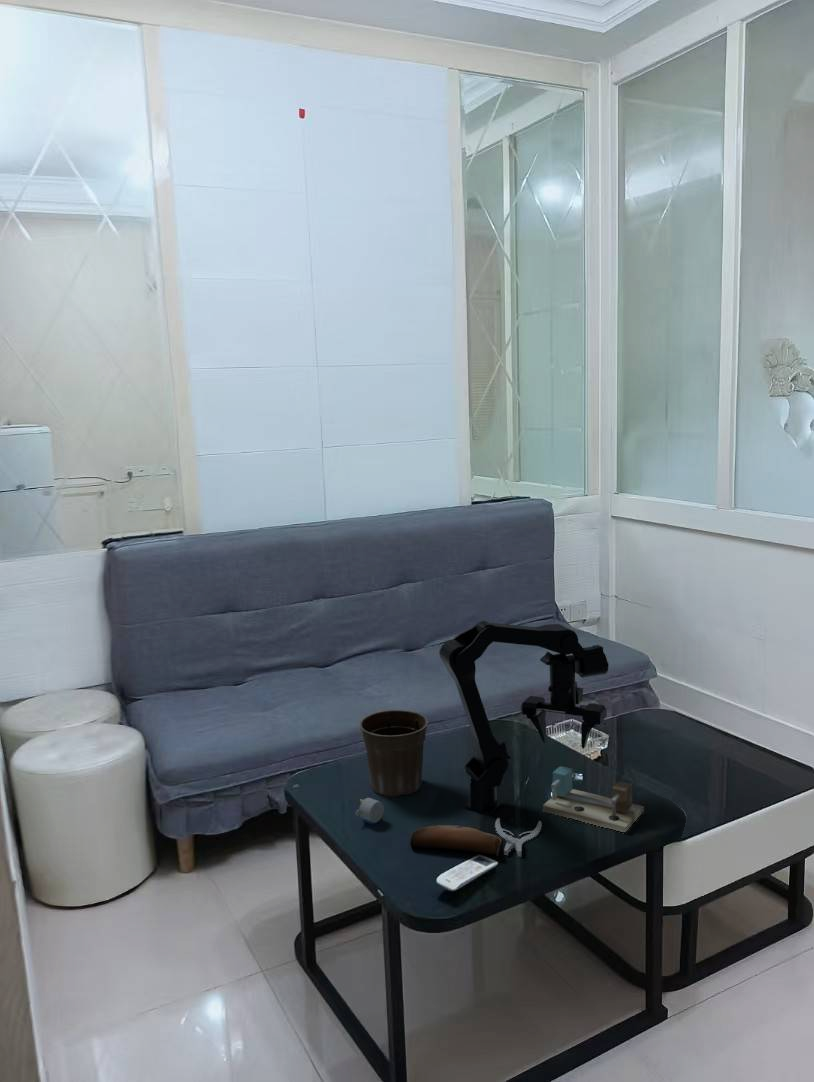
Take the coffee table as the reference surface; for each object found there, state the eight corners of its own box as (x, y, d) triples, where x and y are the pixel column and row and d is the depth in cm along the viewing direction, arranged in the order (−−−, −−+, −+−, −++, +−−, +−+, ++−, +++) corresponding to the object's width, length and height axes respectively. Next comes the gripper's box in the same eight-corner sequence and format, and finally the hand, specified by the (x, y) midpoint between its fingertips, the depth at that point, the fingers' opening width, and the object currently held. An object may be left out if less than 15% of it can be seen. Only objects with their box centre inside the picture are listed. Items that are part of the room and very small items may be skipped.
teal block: (559, 801, 190) (559, 780, 189) (546, 798, 192) (546, 777, 191) (572, 789, 196) (572, 768, 195) (560, 786, 197) (560, 766, 197)
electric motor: (372, 811, 193) (371, 790, 192) (387, 817, 190) (387, 796, 189) (350, 823, 188) (349, 801, 187) (366, 829, 185) (365, 808, 184)
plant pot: (415, 806, 195) (413, 738, 193) (350, 796, 201) (348, 730, 199) (439, 776, 210) (437, 713, 208) (378, 768, 216) (376, 707, 214)
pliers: (542, 817, 185) (537, 852, 171) (542, 824, 186) (537, 860, 171) (496, 814, 188) (487, 848, 173) (496, 820, 188) (488, 856, 173)
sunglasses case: (503, 836, 179) (500, 818, 175) (499, 867, 174) (496, 849, 170) (419, 828, 184) (414, 810, 180) (413, 858, 179) (408, 840, 174)
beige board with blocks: (625, 833, 180) (625, 802, 179) (542, 811, 191) (542, 781, 189) (643, 812, 189) (644, 782, 187) (564, 792, 199) (564, 764, 198)
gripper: (612, 673, 198) (613, 738, 200) (535, 665, 207) (537, 727, 209) (599, 689, 188) (600, 756, 191) (519, 679, 197) (521, 744, 200)
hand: (564, 745), depth 198 cm, fingers open, 9 cm apart
